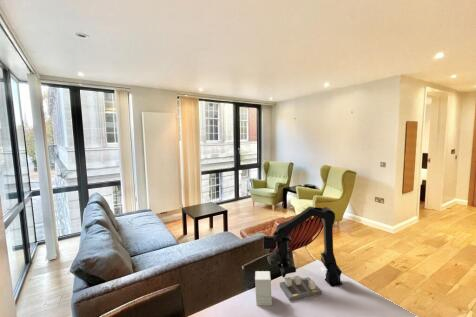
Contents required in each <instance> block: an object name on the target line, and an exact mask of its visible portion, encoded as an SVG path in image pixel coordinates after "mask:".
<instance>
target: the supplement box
mask: <svg viewBox="0 0 476 317" xmlns="http://www.w3.org/2000/svg"><path fill="white" fill-rule="evenodd" d="M254 284H255V286H254V287H255V300H256V306H272V305H273V302H272V301H273V299H272V298H273V296H272V278H271V271H269V270H265V271H264V270H261V271H259V270H255V273H254Z"/></svg>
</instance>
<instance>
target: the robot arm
mask: <svg viewBox="0 0 476 317" xmlns="http://www.w3.org/2000/svg"><path fill="white" fill-rule="evenodd" d="M312 217H316V218H319V219H321V222H322V224H323V244H324V245H323V246H324V249H323V250H324V251H323V252H320V261H321V263H322V265H323V266H324V267H325V269H326V272H325V278H324V281H325V282H326V283H327V284H329V286H331V287H337V286H342V285H343V282H342V281H341V275H342V273H343V272H342V270H341V268H340V266H338V263H337V260H336V257H335V254H334V236H333V234H334V233H333V226H334V225H335V224H334V223H335V220H336V213H335V212H334V211H333V210H332V209H331V208H329V207H327V206H324V207H318V206H317V207H316V206H314V207H313V206H308V207H307V208H305V209H304V210H303V211H301V212H300V213H298V214H297V215H296V216H294V217H292V218H291V219H290V220H288V221H283V222H282V223H279V224H278V225H277V226H276V230H275V231H274V232H273V234H272V235H270V236H268V235H264V236H263V235H262V236H263V240H262V246H263V250H275V251H273V252H272V253H271V254H270V255H268V256H266V258H267V262H268V264H269V265H270V266H271V267H273V266H276V265H277V266H278V268H279V270H280V274H281V277H282V278H286V276H287V275H289V274H293V273H297V267H296V266H295V265H294V264H293V263H290V262H291V258H289V254H290V250H289V243H290V242H292V241H293V240H292V238H291V236H289V235H291V233H292V231H294V229H295V228H297V227H298V226H300V225H301V224H303V223H305V222H306V221H307V220H309V219H310V218H312ZM276 248H277V249H276Z"/></svg>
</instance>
